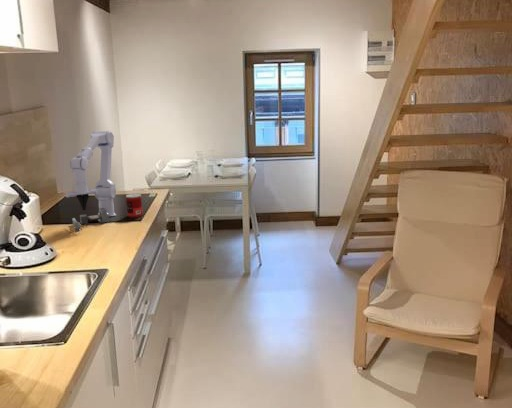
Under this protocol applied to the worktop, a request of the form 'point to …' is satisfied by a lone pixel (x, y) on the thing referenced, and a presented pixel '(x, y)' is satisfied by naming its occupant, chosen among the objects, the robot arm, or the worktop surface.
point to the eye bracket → (103, 216)
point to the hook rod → (90, 218)
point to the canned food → (134, 205)
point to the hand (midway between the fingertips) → (84, 209)
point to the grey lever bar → (76, 224)
